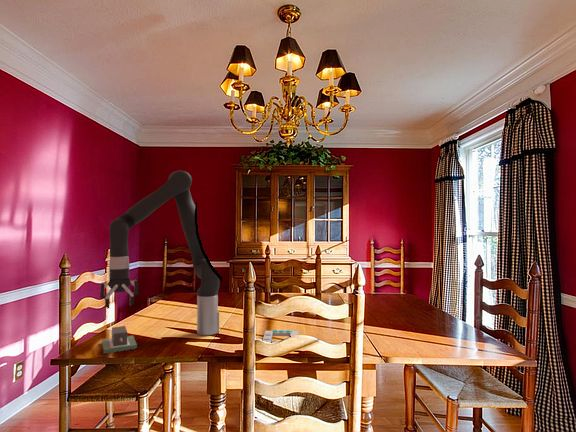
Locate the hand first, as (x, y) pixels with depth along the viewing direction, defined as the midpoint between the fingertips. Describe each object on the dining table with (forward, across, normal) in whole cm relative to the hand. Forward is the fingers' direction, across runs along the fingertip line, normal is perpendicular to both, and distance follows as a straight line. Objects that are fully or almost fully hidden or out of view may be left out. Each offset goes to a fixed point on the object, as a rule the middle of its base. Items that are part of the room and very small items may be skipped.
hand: (119, 306), depth 154 cm
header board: (+16, 0, 0) cm, 16 cm away
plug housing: (+14, 0, +2) cm, 15 cm away
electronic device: (+18, -62, +24) cm, 69 cm away
